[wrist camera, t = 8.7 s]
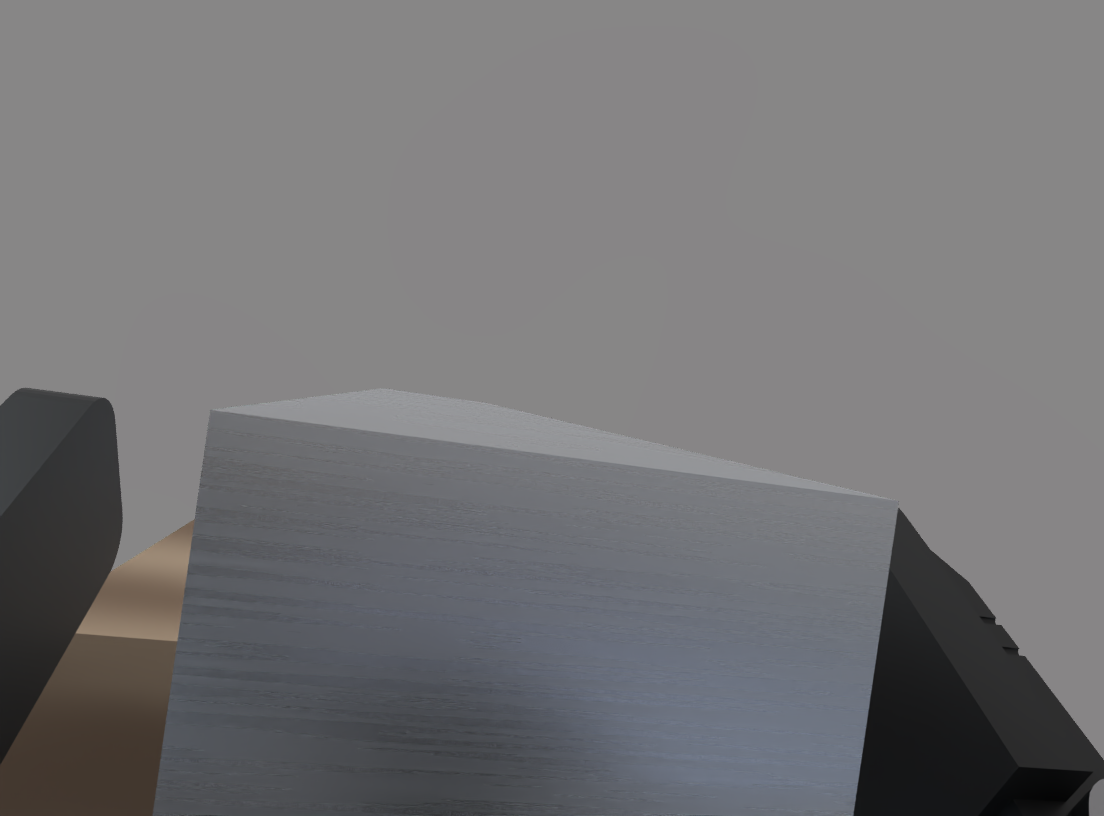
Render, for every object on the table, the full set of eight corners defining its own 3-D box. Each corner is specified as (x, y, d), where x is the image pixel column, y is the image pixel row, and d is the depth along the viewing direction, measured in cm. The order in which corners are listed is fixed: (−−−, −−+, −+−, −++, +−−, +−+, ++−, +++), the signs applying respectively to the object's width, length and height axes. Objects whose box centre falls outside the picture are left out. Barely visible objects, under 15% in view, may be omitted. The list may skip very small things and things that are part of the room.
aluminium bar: (804, 1146, 5) (898, 499, 5) (101, 1170, 4) (209, 409, 4) (472, 504, 30) (486, 403, 30) (367, 492, 30) (383, 388, 30)
